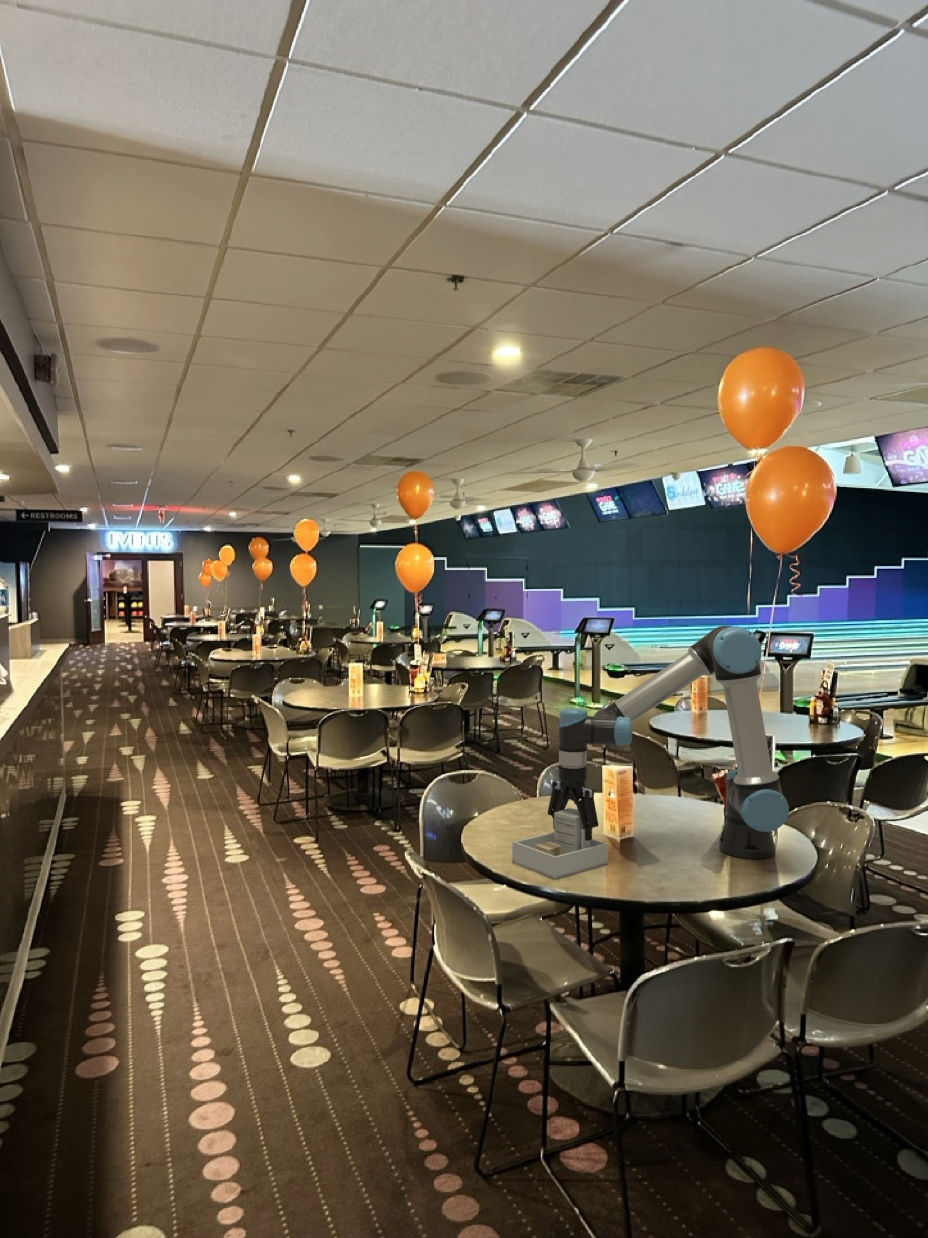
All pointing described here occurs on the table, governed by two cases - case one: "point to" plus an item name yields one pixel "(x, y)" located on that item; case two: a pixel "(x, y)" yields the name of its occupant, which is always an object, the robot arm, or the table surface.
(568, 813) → the supplement box
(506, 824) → the table surface
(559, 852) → the maple block
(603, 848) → the tote
